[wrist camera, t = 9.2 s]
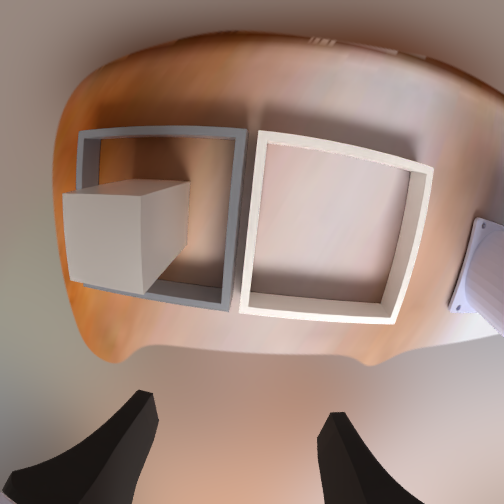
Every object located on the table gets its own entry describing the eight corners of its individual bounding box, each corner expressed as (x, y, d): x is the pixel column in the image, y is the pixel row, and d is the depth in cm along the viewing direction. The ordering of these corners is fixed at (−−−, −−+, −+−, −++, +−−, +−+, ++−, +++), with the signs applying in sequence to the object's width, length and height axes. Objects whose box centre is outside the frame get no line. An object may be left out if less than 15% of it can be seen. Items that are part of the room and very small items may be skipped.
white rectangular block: (190, 181, 16) (141, 196, 9) (187, 244, 17) (143, 294, 10) (132, 178, 16) (62, 193, 9) (131, 238, 17) (70, 280, 10)
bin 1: (248, 133, 15) (246, 128, 13) (232, 296, 18) (228, 311, 16) (95, 132, 15) (79, 131, 13) (97, 275, 18) (83, 286, 16)
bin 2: (417, 166, 15) (433, 167, 13) (384, 309, 18) (394, 324, 16) (259, 134, 15) (258, 130, 13) (241, 297, 18) (238, 313, 16)
